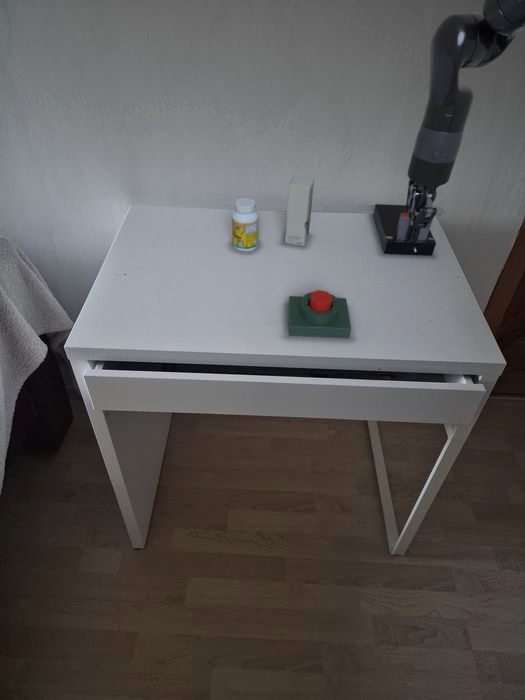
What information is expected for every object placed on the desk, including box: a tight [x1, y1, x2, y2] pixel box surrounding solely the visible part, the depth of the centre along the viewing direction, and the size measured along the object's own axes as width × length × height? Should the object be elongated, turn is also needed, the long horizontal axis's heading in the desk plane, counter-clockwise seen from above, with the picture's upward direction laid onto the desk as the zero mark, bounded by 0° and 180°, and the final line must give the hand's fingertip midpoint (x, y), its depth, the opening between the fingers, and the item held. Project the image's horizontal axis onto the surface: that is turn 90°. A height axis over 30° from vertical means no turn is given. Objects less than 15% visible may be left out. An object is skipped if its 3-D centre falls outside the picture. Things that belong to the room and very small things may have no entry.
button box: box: [288, 291, 352, 339], centre depth 75 cm, size 10×8×4 cm
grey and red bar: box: [395, 213, 434, 241], centre depth 89 cm, size 6×2×5 cm, turn 88°
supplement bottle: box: [231, 197, 260, 252], centre depth 90 cm, size 5×5×10 cm
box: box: [284, 174, 315, 247], centre depth 91 cm, size 5×4×13 cm
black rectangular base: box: [372, 203, 437, 257], centre depth 95 cm, size 20×10×3 cm, turn 178°
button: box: [309, 289, 332, 312], centre depth 74 cm, size 4×4×2 cm
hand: (409, 237), depth 91 cm, fingers closed on grey and red bar
